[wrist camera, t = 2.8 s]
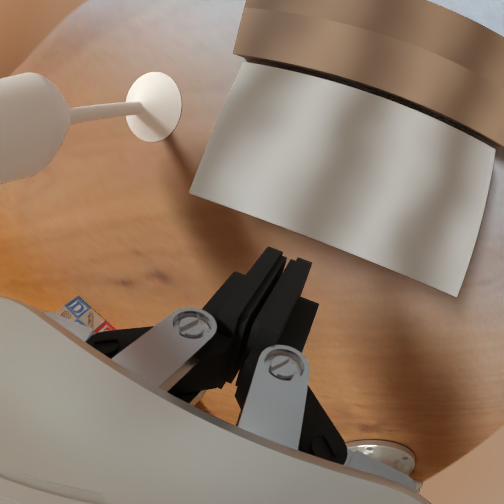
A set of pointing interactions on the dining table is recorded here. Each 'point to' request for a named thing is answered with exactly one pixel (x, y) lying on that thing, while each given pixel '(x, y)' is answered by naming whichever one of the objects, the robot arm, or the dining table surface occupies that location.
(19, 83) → the champagne flute
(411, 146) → the grey plank
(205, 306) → the robot arm
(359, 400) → the dining table surface
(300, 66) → the walnut floor strip
